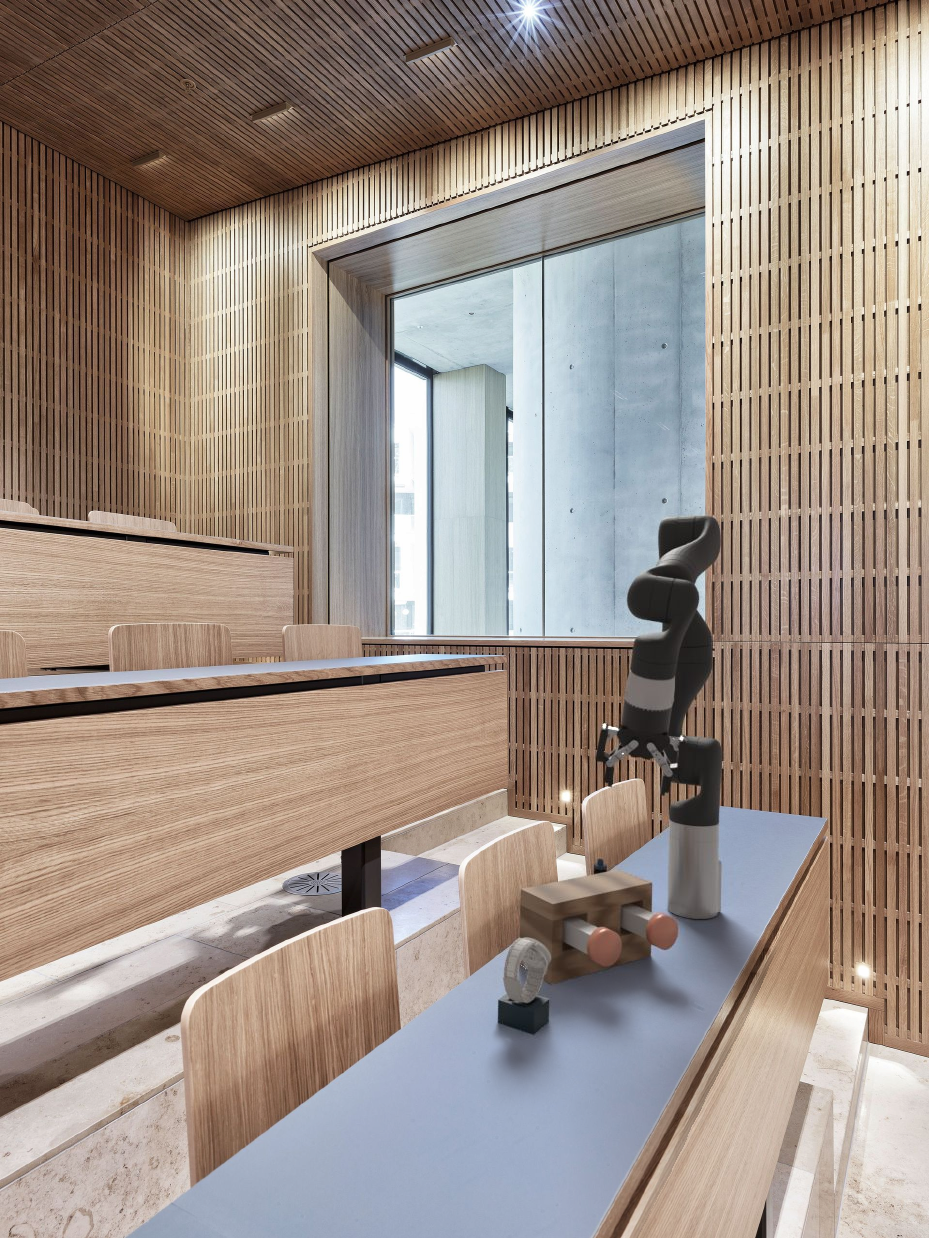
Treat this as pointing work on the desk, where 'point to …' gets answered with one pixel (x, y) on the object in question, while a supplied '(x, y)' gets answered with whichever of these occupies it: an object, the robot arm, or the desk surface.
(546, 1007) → the watch
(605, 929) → the knob
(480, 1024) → the desk surface
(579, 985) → the desk surface
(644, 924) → the knob
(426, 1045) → the desk surface
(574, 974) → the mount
